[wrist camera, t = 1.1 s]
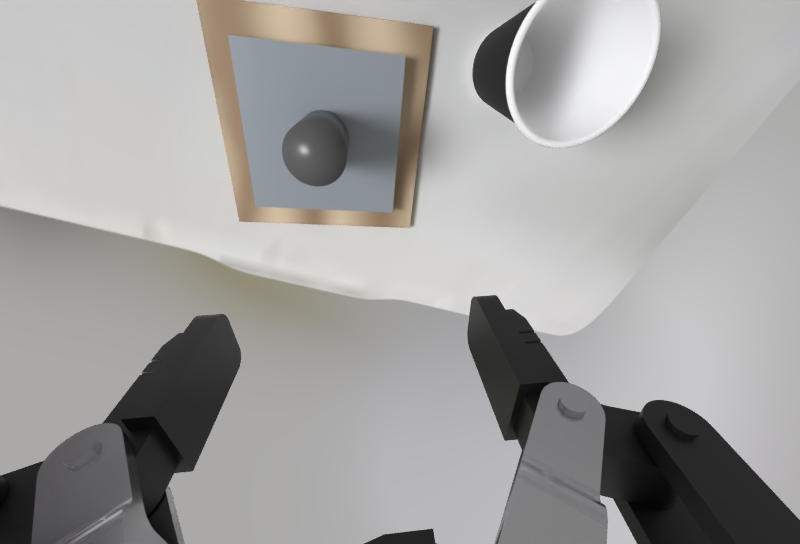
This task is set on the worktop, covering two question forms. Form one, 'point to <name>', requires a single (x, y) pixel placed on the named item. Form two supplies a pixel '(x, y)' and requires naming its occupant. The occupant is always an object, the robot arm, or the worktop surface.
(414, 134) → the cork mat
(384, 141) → the lid
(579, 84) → the dixie cup
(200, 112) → the worktop surface
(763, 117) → the worktop surface
